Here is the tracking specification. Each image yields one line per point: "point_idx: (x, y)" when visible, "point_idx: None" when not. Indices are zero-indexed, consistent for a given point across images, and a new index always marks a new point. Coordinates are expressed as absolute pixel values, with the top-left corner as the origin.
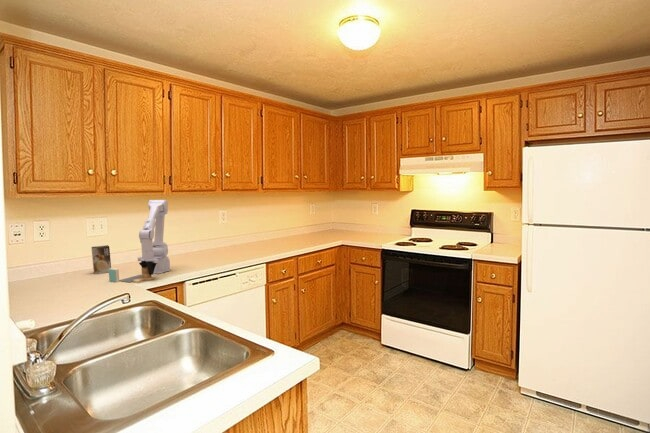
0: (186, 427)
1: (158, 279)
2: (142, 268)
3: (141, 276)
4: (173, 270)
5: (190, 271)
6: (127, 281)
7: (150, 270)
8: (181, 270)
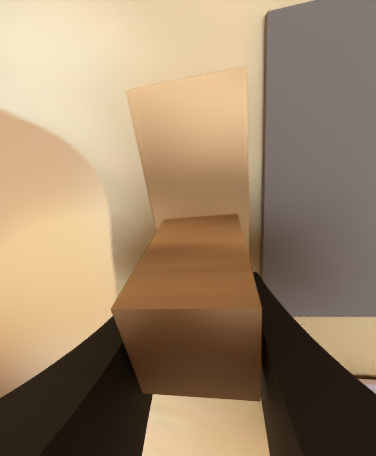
0: None
1: (116, 279)
2: (223, 306)
3: (351, 273)
4: (260, 438)
5: (146, 436)
6: (335, 10)
7: None
8: (212, 442)
